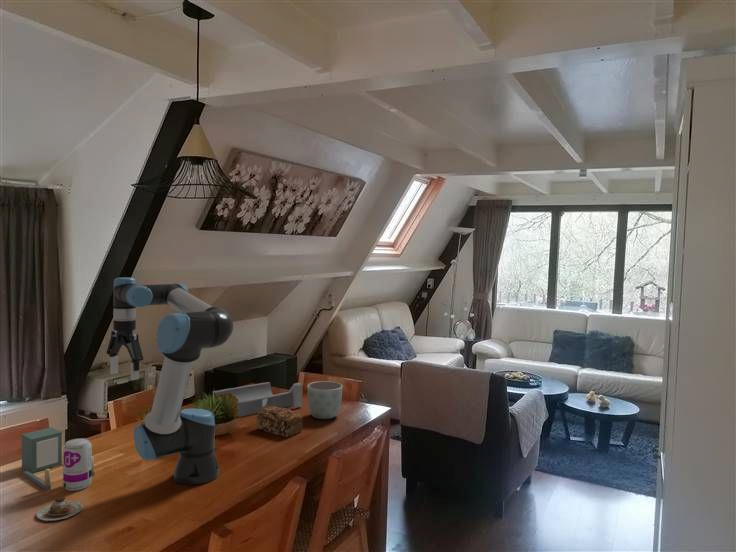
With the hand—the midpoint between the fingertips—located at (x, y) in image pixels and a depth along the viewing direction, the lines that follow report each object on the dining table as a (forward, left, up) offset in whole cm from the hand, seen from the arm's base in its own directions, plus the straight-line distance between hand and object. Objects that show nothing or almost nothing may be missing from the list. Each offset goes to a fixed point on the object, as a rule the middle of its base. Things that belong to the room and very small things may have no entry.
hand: (124, 376), depth 200 cm
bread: (-20, -61, -32) cm, 72 cm away
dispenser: (+8, +21, -32) cm, 39 cm away
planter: (-22, -89, -32) cm, 97 cm away
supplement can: (-9, +21, -32) cm, 39 cm away
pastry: (-23, +33, -32) cm, 51 cm away
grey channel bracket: (+15, -79, -32) cm, 87 cm away
